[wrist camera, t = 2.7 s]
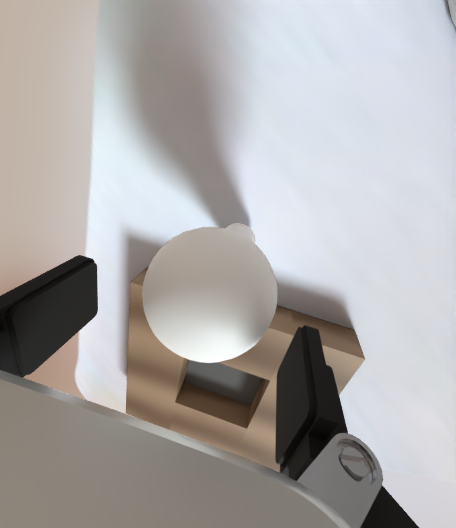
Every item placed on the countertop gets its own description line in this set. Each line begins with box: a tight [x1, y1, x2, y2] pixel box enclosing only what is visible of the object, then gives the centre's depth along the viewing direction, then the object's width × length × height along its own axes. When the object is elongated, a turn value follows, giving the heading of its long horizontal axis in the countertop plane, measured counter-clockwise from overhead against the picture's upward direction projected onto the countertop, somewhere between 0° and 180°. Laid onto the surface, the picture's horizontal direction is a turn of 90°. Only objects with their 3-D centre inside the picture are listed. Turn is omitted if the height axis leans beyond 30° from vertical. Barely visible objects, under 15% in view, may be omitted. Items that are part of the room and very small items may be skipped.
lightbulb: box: [142, 223, 277, 363], centre depth 14 cm, size 6×6×11 cm
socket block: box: [126, 266, 365, 472], centre depth 24 cm, size 18×18×3 cm
